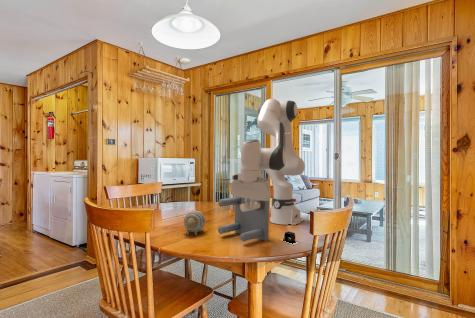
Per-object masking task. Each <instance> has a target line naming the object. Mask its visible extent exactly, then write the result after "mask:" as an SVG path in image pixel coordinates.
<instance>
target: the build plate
mask: <svg viewBox="0 0 475 318" xmlns="http://www.w3.org/2000/svg"><path fill="white" fill-rule="evenodd" d="M283 235H284V236H283V237H284V238H282V239H283V241H286V242H289V243H292V244H293V243H296V242H298V241H296V233H295V232H292V231H285V232H284V234H283ZM283 241H282V242H283ZM286 242H285V243H286ZM289 243H288V244H289Z"/></svg>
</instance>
